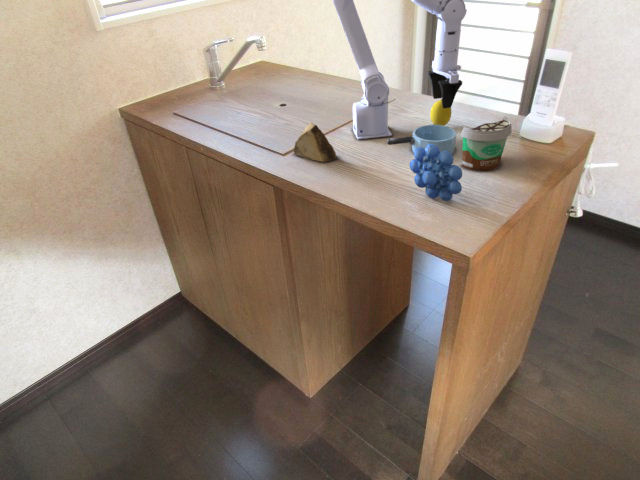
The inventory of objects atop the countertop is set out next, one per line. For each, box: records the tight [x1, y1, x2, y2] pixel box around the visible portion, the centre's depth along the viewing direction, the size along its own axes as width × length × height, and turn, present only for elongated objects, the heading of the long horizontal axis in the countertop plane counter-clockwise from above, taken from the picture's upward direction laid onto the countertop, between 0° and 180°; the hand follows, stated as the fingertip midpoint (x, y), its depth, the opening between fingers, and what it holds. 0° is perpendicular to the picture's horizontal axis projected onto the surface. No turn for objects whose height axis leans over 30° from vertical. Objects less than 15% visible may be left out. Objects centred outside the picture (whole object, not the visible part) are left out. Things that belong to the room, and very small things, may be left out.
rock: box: [293, 122, 338, 163], centre depth 113 cm, size 11×9×10 cm
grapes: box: [408, 143, 463, 202], centre depth 90 cm, size 12×7×12 cm, turn 52°
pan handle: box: [386, 136, 415, 146], centre depth 111 cm, size 7×2×2 cm, turn 96°
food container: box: [460, 116, 513, 172], centre depth 101 cm, size 12×6×10 cm, turn 114°
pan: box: [411, 124, 457, 155], centre depth 112 cm, size 10×10×4 cm
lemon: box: [429, 98, 452, 126], centre depth 121 cm, size 6×6×8 cm
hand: (441, 102), depth 120 cm, fingers open, 7 cm apart
